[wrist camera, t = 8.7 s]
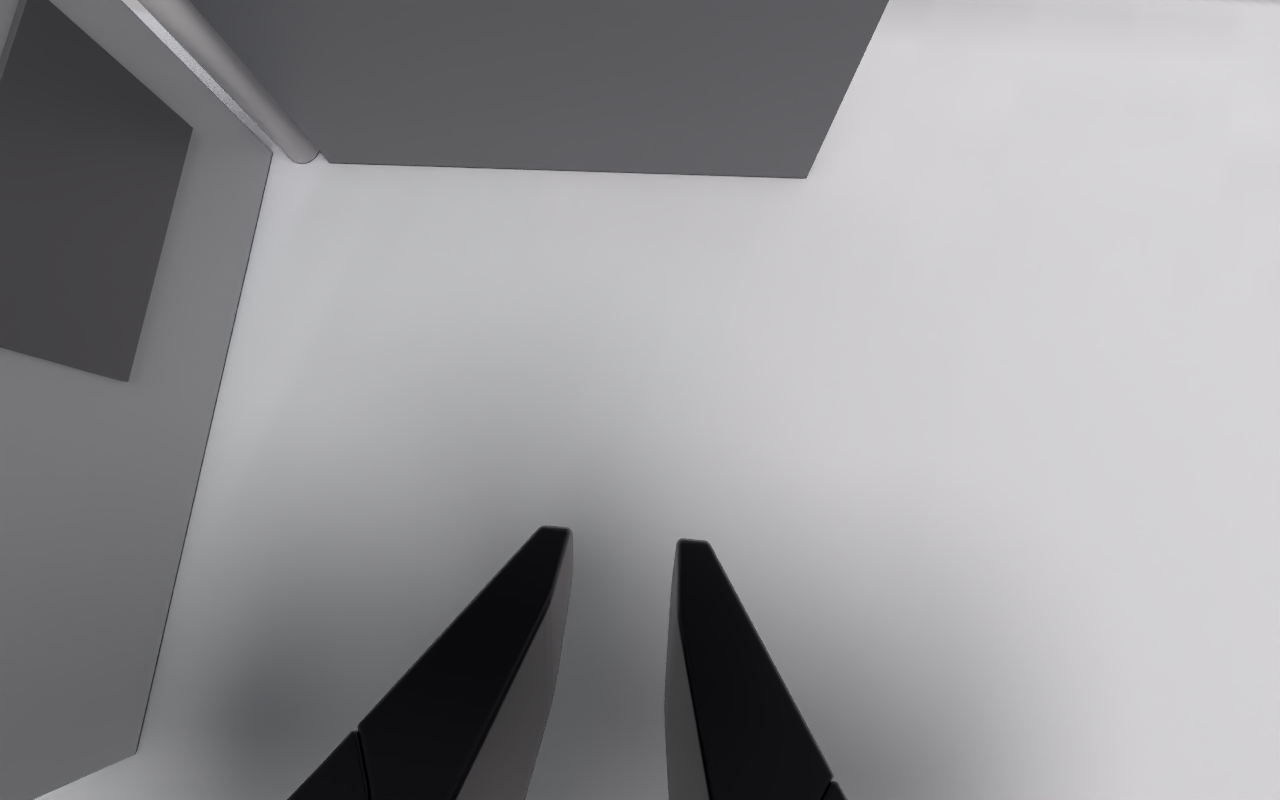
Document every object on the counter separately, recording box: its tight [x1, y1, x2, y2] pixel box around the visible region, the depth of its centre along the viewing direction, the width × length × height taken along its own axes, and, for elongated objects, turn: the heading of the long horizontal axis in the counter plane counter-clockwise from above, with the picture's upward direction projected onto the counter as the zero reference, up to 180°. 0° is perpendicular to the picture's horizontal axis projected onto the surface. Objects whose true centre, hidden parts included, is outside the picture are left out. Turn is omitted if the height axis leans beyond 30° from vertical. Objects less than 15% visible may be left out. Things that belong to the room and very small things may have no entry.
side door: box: [138, 0, 889, 178], centre depth 13 cm, size 14×2×10 cm, turn 88°
